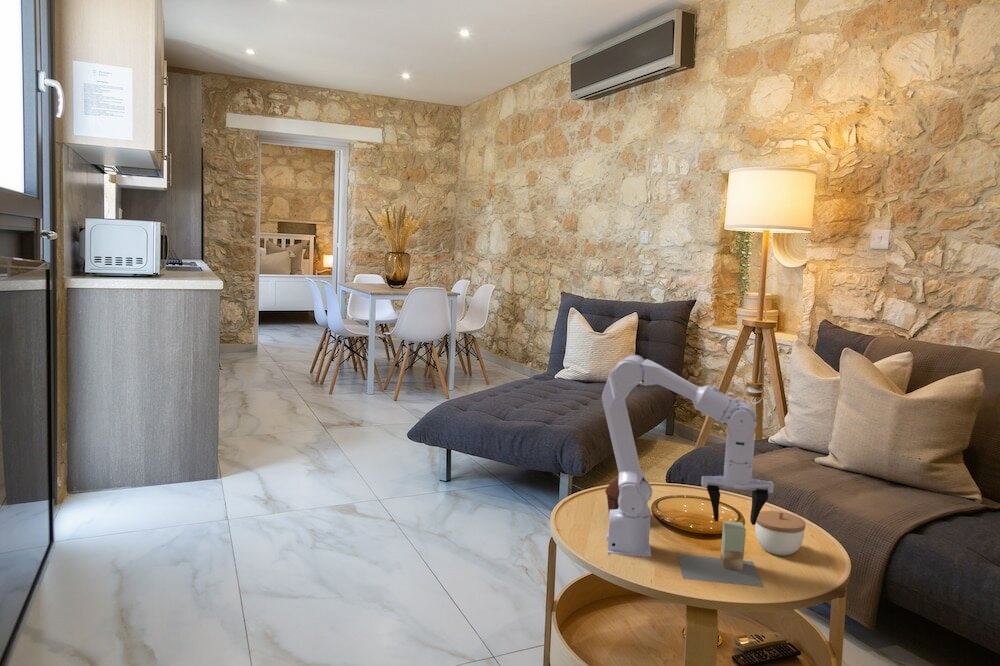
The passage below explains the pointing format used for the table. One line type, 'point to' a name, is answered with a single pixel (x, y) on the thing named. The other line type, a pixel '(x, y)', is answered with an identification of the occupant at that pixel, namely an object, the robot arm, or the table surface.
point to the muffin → (613, 495)
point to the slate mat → (718, 571)
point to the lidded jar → (779, 532)
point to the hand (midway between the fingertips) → (734, 521)
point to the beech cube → (731, 559)
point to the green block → (733, 536)
